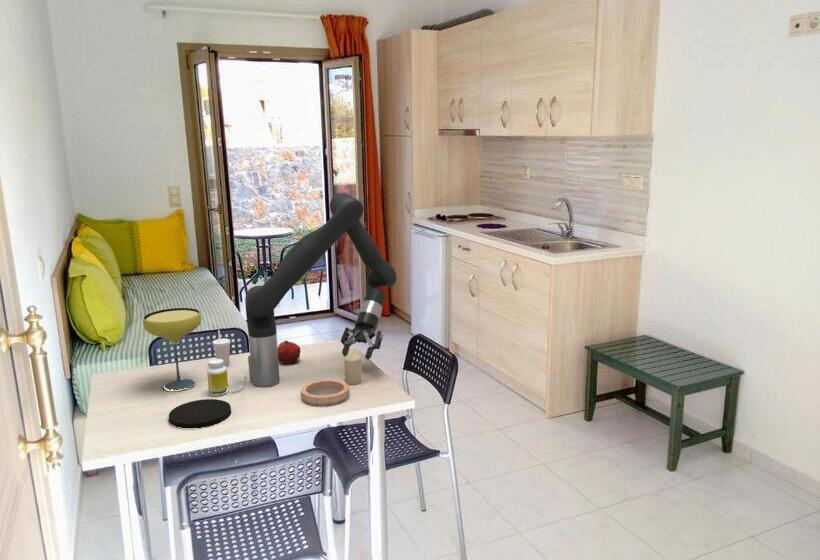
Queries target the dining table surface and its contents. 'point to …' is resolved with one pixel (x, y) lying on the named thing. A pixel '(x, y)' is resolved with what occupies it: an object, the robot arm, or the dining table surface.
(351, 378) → the candle
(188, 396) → the dining table surface
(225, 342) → the smoothie
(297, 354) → the tomato
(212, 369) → the pill bottle
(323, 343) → the dining table surface
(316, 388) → the dish
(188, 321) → the cocktail glass
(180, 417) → the wireless charger
